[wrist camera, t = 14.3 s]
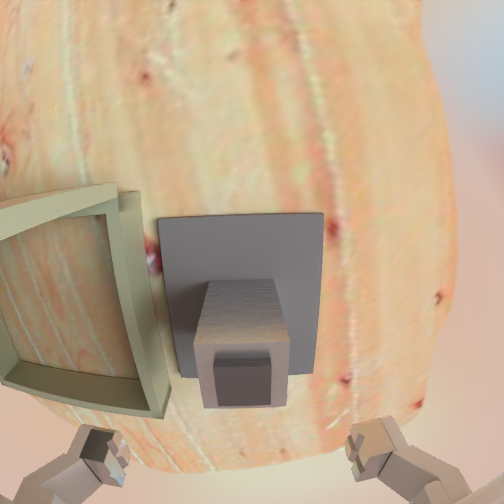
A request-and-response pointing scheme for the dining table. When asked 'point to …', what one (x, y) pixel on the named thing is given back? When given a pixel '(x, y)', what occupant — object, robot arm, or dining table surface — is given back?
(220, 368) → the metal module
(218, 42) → the dining table surface
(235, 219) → the rubber mat
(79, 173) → the dining table surface
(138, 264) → the olive open box frame
